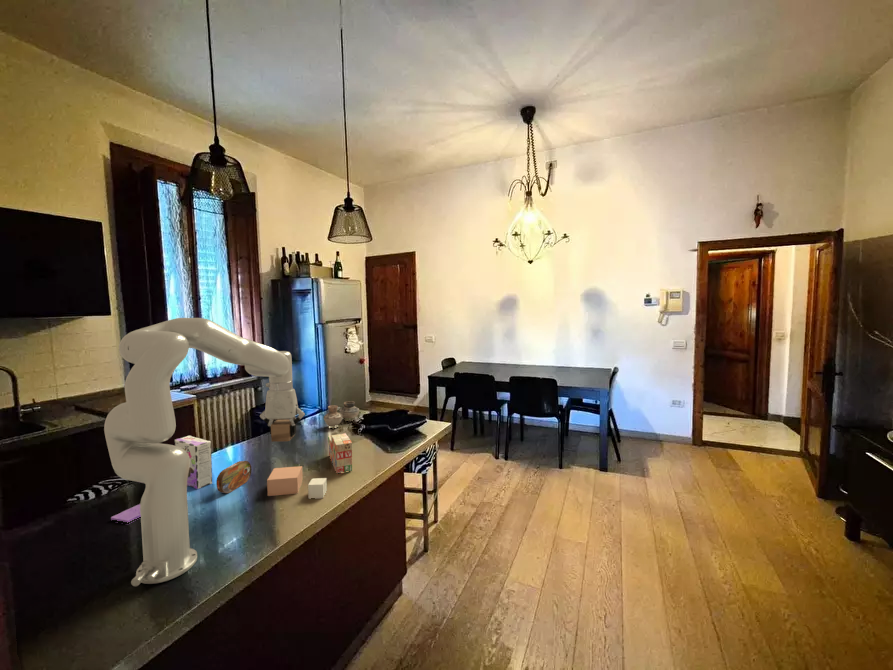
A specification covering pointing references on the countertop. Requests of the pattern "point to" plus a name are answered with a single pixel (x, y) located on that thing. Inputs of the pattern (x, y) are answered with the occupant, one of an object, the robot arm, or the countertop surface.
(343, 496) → the countertop surface
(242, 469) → the tin
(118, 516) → the sponges
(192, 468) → the candy box
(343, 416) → the pottery
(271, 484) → the terracotta block
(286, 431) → the walnut cube
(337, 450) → the stack of blocks
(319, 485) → the off-white cube
